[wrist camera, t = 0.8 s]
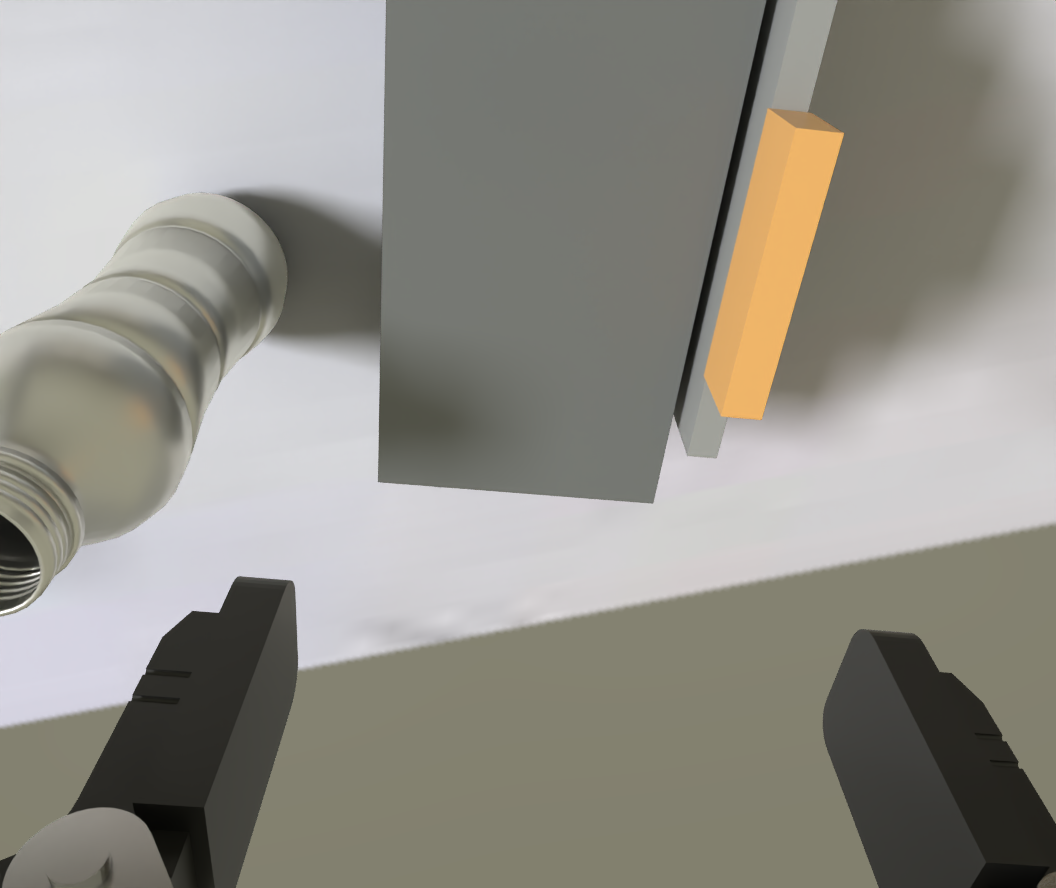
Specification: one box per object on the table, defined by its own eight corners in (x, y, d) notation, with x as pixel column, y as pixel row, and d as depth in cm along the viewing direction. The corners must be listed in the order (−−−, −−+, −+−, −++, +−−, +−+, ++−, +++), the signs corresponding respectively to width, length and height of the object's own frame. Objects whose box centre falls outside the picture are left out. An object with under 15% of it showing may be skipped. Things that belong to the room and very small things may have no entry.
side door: (711, -37, 30) (832, -14, 19) (744, -33, 30) (884, -7, 19) (642, 326, 37) (699, 500, 26) (669, 329, 37) (737, 503, 26)
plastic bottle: (318, 217, 35) (138, 489, 18) (275, 352, 38) (88, 691, 21) (162, 152, 34) (-192, 383, 17) (130, 298, 37) (-194, 617, 20)
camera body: (428, -257, 27) (391, -340, 19) (731, -215, 28) (828, -276, 19) (407, 359, 39) (378, 482, 30) (622, 378, 39) (653, 503, 31)
